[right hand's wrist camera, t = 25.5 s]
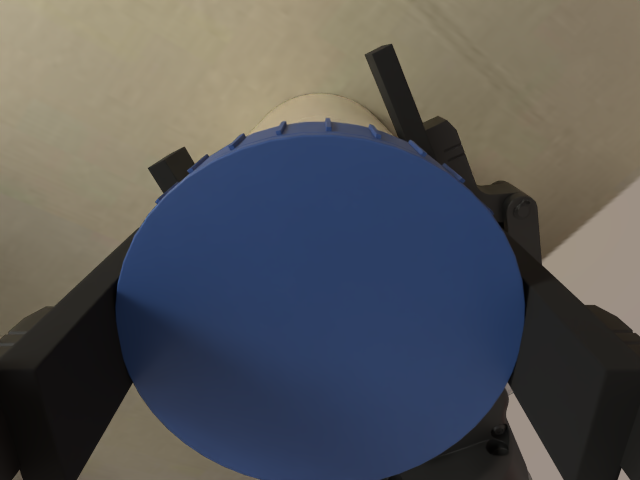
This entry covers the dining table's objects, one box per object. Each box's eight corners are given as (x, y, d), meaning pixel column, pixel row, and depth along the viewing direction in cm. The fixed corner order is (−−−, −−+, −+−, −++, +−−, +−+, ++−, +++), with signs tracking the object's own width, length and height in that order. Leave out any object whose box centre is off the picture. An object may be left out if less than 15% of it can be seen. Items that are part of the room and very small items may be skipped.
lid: (362, 474, 15) (368, 537, 13) (88, 339, 13) (47, 389, 11) (571, 250, 12) (620, 287, 10) (256, 32, 10) (241, 26, 8)
